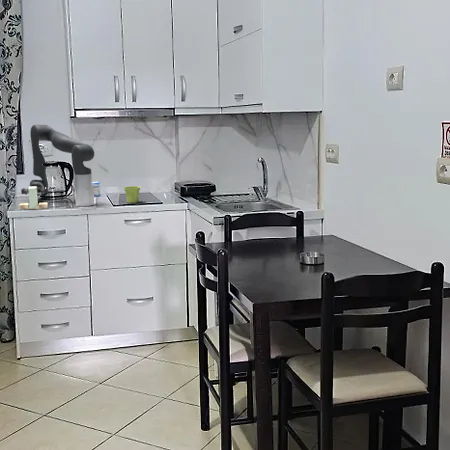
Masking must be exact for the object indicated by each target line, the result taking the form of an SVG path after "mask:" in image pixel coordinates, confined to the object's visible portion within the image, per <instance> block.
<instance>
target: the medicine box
mask: <svg viewBox="0 0 450 450" xmlns="http://www.w3.org/2000/svg"><path fill="white" fill-rule="evenodd" d="M92 187H93V188H94V198H97V196H98V197H101V196H102V194H101V182H100V181H92Z"/></svg>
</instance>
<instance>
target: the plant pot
mask: <svg viewBox="0 0 450 450" xmlns="http://www.w3.org/2000/svg"><path fill="white" fill-rule="evenodd" d="M141 188H142V187H141V186H138V185H137V186H135V185H134V186H133V185H131V186H124V187H123V189H124V191H125V196H126V201H127V203H128V204H136V203H139V199H140V197H139V196H140V190H141Z"/></svg>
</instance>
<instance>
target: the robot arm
mask: <svg viewBox="0 0 450 450" xmlns="http://www.w3.org/2000/svg"><path fill="white" fill-rule="evenodd" d="M40 141H44V142H45V141H47V142H51V145H52V146H53V148H55V149H56V150H58V151H60V152H63V153H67V154H71V160H72V161H71V163H72V170H73V174H74V176H73V177H74V194H75V195H74V196H75V206H76V207H90V206H94V205H95V197H94V188H93V187H92V182H93V180H92V179H93V177H92V175H93V174H92V169H91V168H90V167H87V166H86V165H85V164H84V163H85V162H90V161H92V160H93V159H94V157H95V150H94V148H93V147H92V146H91V145H89V144H87V143H83V142H81V141H78V140H76V139H74V138H72V137H70V136H68V135H66V134H64V133H62V132H60V131H57V130H55V129H54V128H52V127H51V126H49V125H48V124H33V125H32V126H31V128H30V142H31V150H32V159H33V161H32V162H33V163H32V166H33V167H32V169H33V170H32V174H33V176H35V177H39V178H41V179H31V181H30V182H29V187H37V197H39V196H42V195H44V194H49V183H48V180H47V174H46V167H45V166H43V165H42V164H44V163H46V160H45V157H44V155H43V153H42V151H41V149H40ZM29 187H27V188H24V187H23V188H21V189H20V190H21V192H20V193H21V195H29V191H28V188H29Z"/></svg>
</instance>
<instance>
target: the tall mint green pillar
mask: <svg viewBox="0 0 450 450" xmlns="http://www.w3.org/2000/svg"><path fill="white" fill-rule="evenodd" d="M27 188H28V191H29V194H28V203H29V207H30V209H29V210H38V209H37V207H38V204H39V203H38V201H39V200H38V196H37V187H30V186H29V187H27Z"/></svg>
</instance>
